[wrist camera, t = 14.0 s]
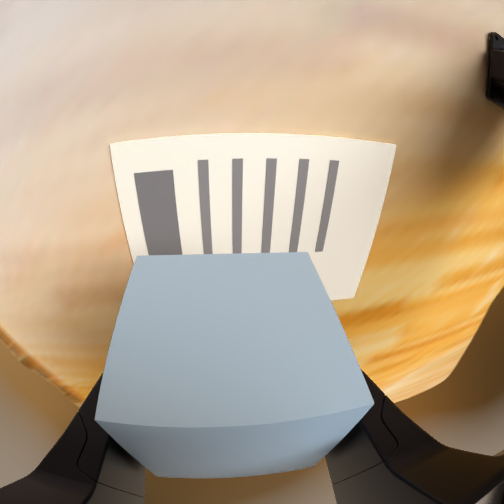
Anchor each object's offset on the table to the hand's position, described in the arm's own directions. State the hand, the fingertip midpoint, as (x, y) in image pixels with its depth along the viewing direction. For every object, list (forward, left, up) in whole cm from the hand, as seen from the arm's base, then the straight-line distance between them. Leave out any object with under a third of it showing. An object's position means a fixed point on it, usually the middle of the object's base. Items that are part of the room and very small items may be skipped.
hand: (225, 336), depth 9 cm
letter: (-3, +3, -11) cm, 12 cm away
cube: (0, 0, -1) cm, 1 cm away
